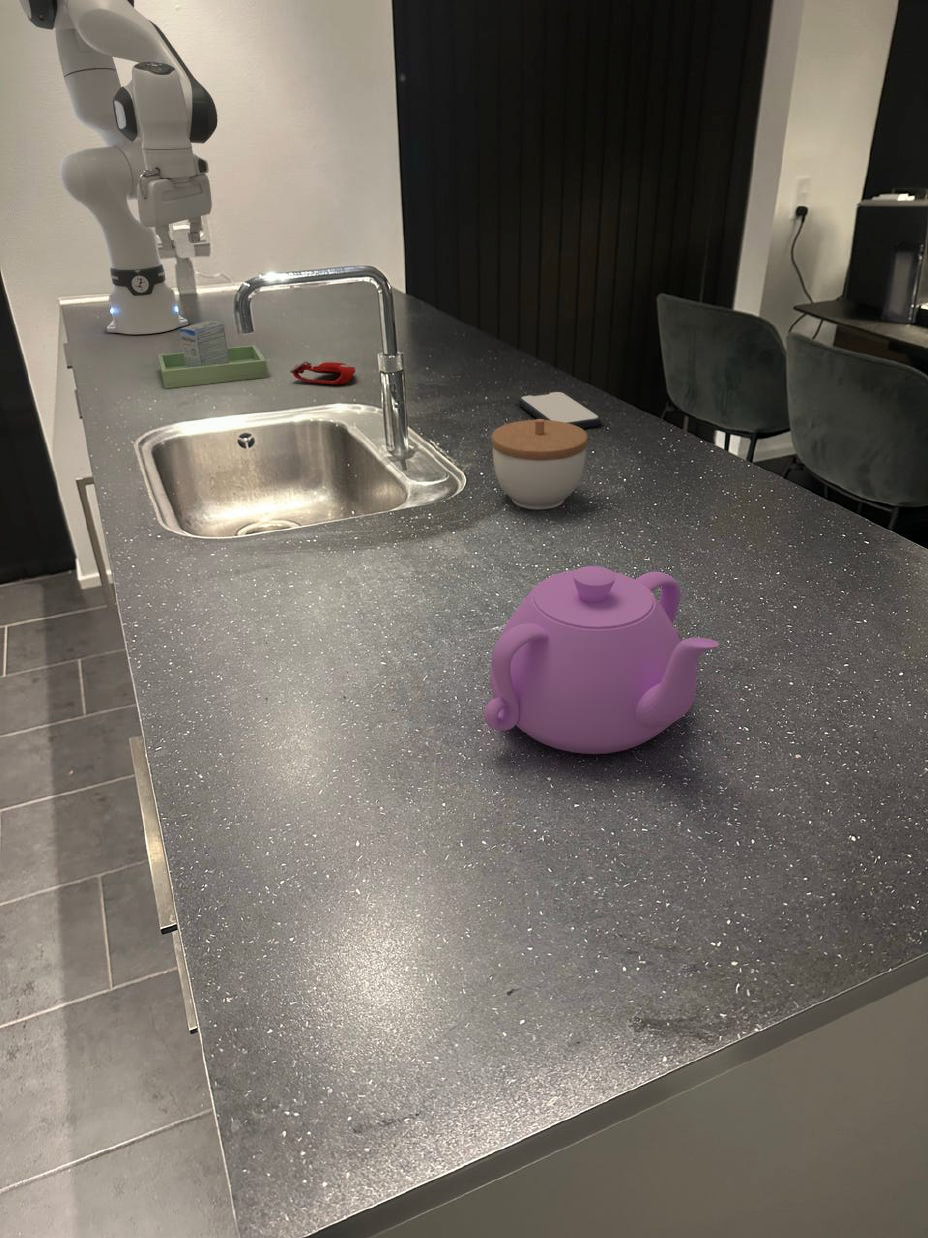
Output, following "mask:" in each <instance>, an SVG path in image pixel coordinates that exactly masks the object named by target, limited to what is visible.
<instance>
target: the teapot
mask: <svg viewBox="0 0 928 1238" xmlns="http://www.w3.org/2000/svg"><path fill="white" fill-rule="evenodd" d="M660 587H661V590H660V596H659V600H658V599H657V598H656V596H655V594H654V593H653V592H654V591H655V590H657V589H658V588H660ZM680 600H681V587H680V585H679V582H678V581H677V580H676V579H675V578H674V577H673V576H671V575H669V574H667V573H665V572H662V571H655V570H654V571H649V572H646V573H644V574H642V575H640V576H639V577H637V578H636V579H635V578H633V577H631V576H628V575H626V574H623V573H619V572H615V571H612V570H611V569H609V568H607V567H604V566H599V565H587V566H582V567H579V568H577V569H572V570H566V571H561V572H558V573H556V574H553V575H551V576H549V577H546V578H544V579H542V580H541V581H540V582H539V583H538V584H536V586H535V587H534V588H533V589H531V591H529V593H528V594H527V595H525V597H524V598H523V600H522V602H520V603H519V605H518V606H517V608H515V611H514V612H513V613H512V615H511V616H510V618H509V619H508V621H507V622H506V624H505V626H504V628H503V629H502V631H501V633H500V636H499V638H498V639H497V641H496V643H495V645H494V647H493V649H492V653H491V665H490V674H489V676H490V678H489V685H490V691H491V694H492V697H493V698H492V699H491V700H490V701H489V702H488V703H487V704H486V705H485V708H484V711H483V719H484V721H485V723H486V725H487V727H489V728H490V729H493V730H495V731H501V732H502V731H503V732H506V731H510V730H512V729H513V728H515V726H516V727H517V728H518V729H519V730H521V731H522V732H523V733H525V734H526V735H527V736H529V737H531V738H532V739H534V740H536V741H537V742H539V743H541V744H544V745H546V746H549V747H551V748H554V749H557V750H560V751H565V752H570V753H575V754H582V755H583V754H585V755H586V754H587V755H601V754H612V753H618V752H622V751H627V750H629V749H632V748H635V747H637V746H639V745H642V744H644V743H645V742H647V741H649V740H651V739H653V738H654V737H656V736H657V735H659V734H661V733H663V731H665V730H666V729H667V728H668V727H670V726H671V725H672V724H674V723H676V722H677V721H678V720H680V719H681V718H683V717H684V716H685V715H686V714H687V713H688V711H689V710H690V708H691V707H692V706H693V704H694V700H695V697H696V694H697V673H698V672H697V671H698V670H697V668H698V662H699V660H700V657H701V656H702V655H703V654H704V652H708V651H709V650H712V649H716V648H717V647H719V646H720V643H719V642H718V641H716V640H713V639H710V638H705V637H694V636H693V637H688V638H685V639H683V640H682V637H681V634H680V632H679V630H678V629H677V627H675V626H674V622H675V619H676V616H677V613H678V610H679V605H680Z"/></svg>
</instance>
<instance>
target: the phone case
mask: <svg viewBox="0 0 928 1238" xmlns="http://www.w3.org/2000/svg"><path fill="white" fill-rule="evenodd" d="M518 405H519V406H520V407H521V408H522V409H524V410H525V411H526V412H528V413H529V414H530V415H532V416H533V417H535V418H536V419H544V420H552V421H560V422H565V423H569V424H573V425H575V426H578V427H580V428H582V429H583V430H584V429H589V428H595V427H599V426H600V425H601V417H600V416H599V415H598V414H596V413H595V412H593V411H592V410H590V409H589V408H587V407H586V406H584V405H583V404H581V403H580V402H578V401H576V400H575V399H574V398H572V397H571V396H569V395H567V394H566V393H565V392H562V391H551V392H545V393H537V394H530V395H522V396H520V397H519V398H518Z"/></svg>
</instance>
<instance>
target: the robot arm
mask: <svg viewBox="0 0 928 1238" xmlns="http://www.w3.org/2000/svg"><path fill="white" fill-rule="evenodd" d="M19 3H20V6H21V8H22V10H23V12H24V14H25V15H26V17H27V19H28V20H29V22H30V23H32V25H34V26H35V27H36V28H40V29H44V30H54V29H55V30H54V32H55V41H56V48H57V55H58V59H59V65H60V68H61V72H62V76H63V79H64V83H65V85H66V89H67V93H68V96H69V100H70V103H71V107H72V110H73V113H74V116H75V117H76V119H77V120H78V121H79V122H80V124H82V125H83V126H84V127H86V128H88V129H90V130H92V131H93V132H95V133H97V134H98V135H99V137H101V139H102V140H103V141H104V143H105V145H106V146H101V147H100V146H99V147H84V148H81V149H77V150H75V151H72V152H69V153H67V154H64V156H63V157H62V159H61V161H60V166H59V177H60V182H61V184H62V186H63V188H64V190H65V192H66V193H67V194H68V196H69V197H71V198H72V199H73V200H74V201H75V202H77V203H79V204H80V205H81V206H82V207H84V208H85V209H86V210H87V211H88V212H89V213H90V214H91V215H92V217H93V218H94V219H95V221H96V223H97V224H98V226H99V228H100V229H101V232H102V235H103V238H104V241H105V245H106V249H107V253H108V257H109V262H110V269H109V270H110V271H109V272H110V279H111V283H112V284H113V285H114V286H113V289H112V291H111V292H110V293H109V295H108V304H109V308H110V310H109V311H110V314H111V317H112V321H111V322H110V323H109V324H108V325H107V327H106V332H107V333H113V334H114V333H115V334H116V333H118V334H124V335H150V334H158V333H163V332H168V331H173V330H175V329H178V328H182V327H187V326H189V321H188V319H186V318H184V317H183V316H181V315H180V313H179V307H178V304H177V299H176V293H175V290H174V289H172V287H171V286H169V285H168V284H167V282H166V271H165V269H164V265H163V264H162V262H161V258H160V252H159V246H158V241H157V236H158V238H159V240H160V242H161V246H162V248H161V249H162V250H163V251H165V252H172V251H174V250H175V249H176V246H175V240H174V239H172V238H171V236H170V233H169V231H170V225H172V224H175V223H181V222H184V221H187V222H188V223H189V232H187V238H188V242H189V243H190V244H198V243H200V242H201V234H200V233H201V228H202V223H203V222H202V217H203V216H208V215H210V214H211V212H212V208H213V201H212V192H211V185H210V179H209V177H208V175H207V173H209V172H210V171H209V170H210V169H209V168H210V167H209V162H208V160H206V159H204V158H202V157H200V156H198V155H197V154H196V153H194V152H193V145H192V144H201V145H202V144H205V143H206V142H207V141H208V140H209V139H210V138H211V137H212V135H213V134H214V133H215V131H216V129H217V127H218V111H217V108H216V107H217V106H216V104H215V101H214V99H213V97H212V95H211V94H210V92H209V91H208V90H207V89H206V88H205V87H204V85H202V84H201V83H200V82H199V81H198V80H197V79H196V78H195V76H194V75H193V73H192V72H191V71H190V69H189V68H188V67H187V65H186V64H185V62H184V60H183V59H182V57H181V56H180V55H179V53H178V52H177V50H176V49H175V47H174V46H173V45H172V44H171V42H170V40H169V39H168V37H167V36H166V35H165V33H164V32H163V31H162V30H161V28H160V27H159V26H158V25H157V24H155V22H153V21H151V20H150V19H148V18H147V17H145V16H144V15H143V14H141V13H140V12H139V11H138V10H137V9H136V8H135V0H19ZM114 58H116V59H122V60H127V61H131V62H134V63H136V64H134V65H133V66H132V68H131V80H130V81H129V82H128V83H127V85H124V86H123V85H122V84H121V81H120V78H119V74H118V70H117V67H116V63H115V60H114ZM130 201H137V210H138V216H139V217H138V218H137V217H135V215H134V214H133V213H132V211H131V209H130V206H129V204H128V203H129V202H130ZM153 228H154V229H155V230H154V229H153Z"/></svg>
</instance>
